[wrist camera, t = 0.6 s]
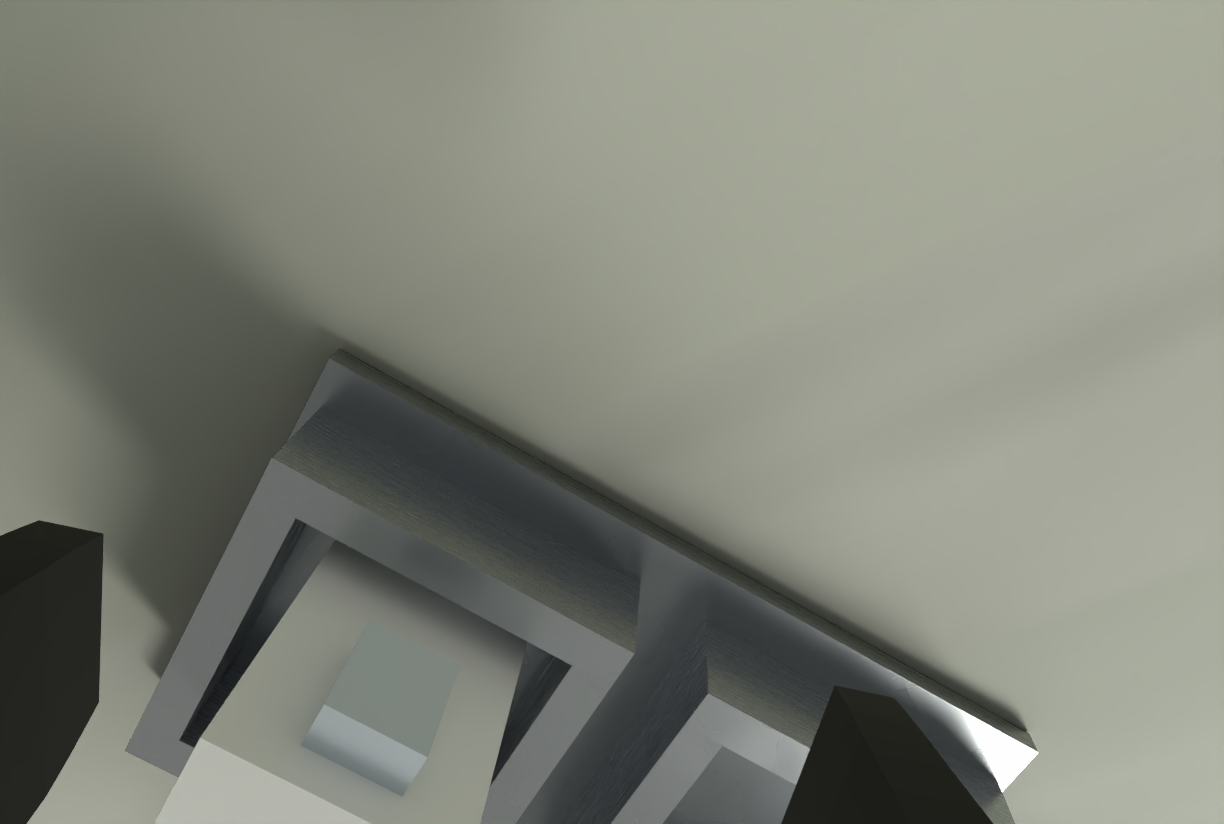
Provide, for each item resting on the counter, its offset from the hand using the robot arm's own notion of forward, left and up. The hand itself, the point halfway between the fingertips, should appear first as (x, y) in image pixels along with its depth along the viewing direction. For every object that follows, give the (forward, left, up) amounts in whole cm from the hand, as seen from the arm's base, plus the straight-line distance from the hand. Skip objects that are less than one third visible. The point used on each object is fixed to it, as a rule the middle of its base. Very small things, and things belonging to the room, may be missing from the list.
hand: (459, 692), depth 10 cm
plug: (-6, 0, -10) cm, 11 cm away
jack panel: (-6, -4, -10) cm, 13 cm away
